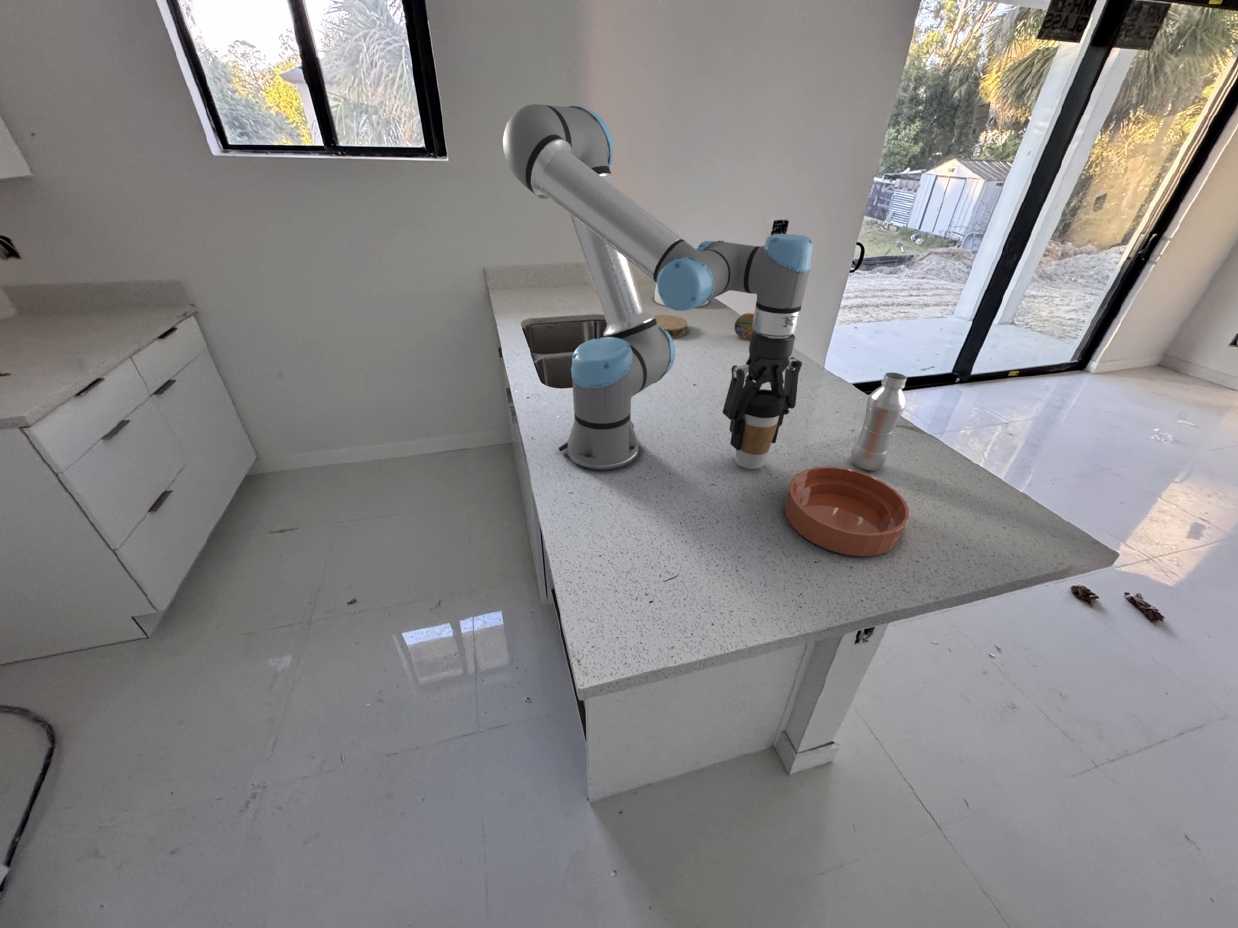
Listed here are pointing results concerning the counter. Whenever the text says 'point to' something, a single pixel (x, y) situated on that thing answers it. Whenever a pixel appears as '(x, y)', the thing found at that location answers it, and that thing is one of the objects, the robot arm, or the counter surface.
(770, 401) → the coffee cup
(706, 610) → the counter surface
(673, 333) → the round brown disc
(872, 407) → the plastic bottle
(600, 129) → the robot arm
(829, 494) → the bowl
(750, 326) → the tin
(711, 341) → the counter surface
